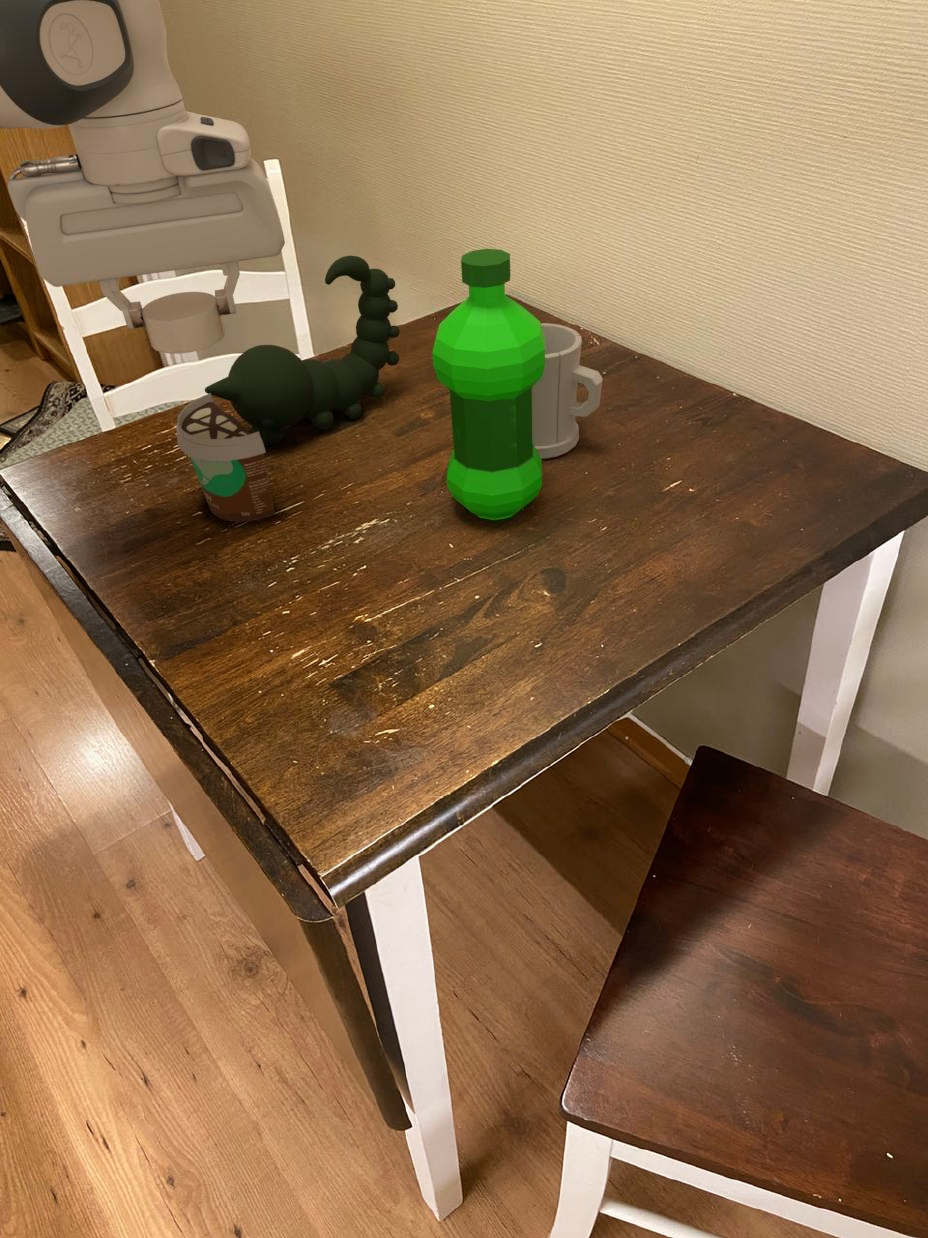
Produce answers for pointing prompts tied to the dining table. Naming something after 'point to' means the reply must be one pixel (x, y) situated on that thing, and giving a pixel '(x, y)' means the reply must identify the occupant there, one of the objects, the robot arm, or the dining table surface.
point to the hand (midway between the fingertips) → (183, 318)
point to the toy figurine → (316, 366)
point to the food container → (225, 461)
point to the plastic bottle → (491, 390)
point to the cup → (561, 393)
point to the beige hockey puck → (183, 322)
